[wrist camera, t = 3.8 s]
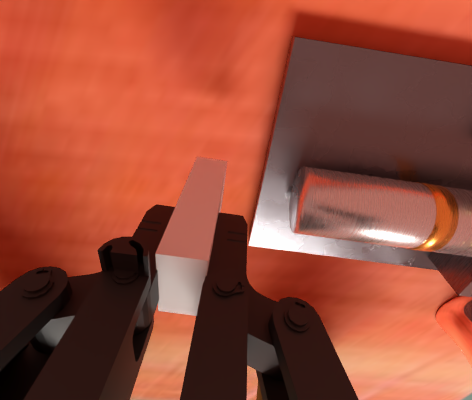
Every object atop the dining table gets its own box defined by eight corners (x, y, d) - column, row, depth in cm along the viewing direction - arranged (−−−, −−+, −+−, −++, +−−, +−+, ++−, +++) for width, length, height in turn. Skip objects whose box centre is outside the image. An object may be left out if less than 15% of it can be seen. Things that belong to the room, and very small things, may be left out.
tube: (288, 188, 18) (288, 243, 16) (308, 151, 15) (311, 216, 13) (478, 214, 19) (500, 271, 17) (541, 185, 15) (578, 252, 13)
